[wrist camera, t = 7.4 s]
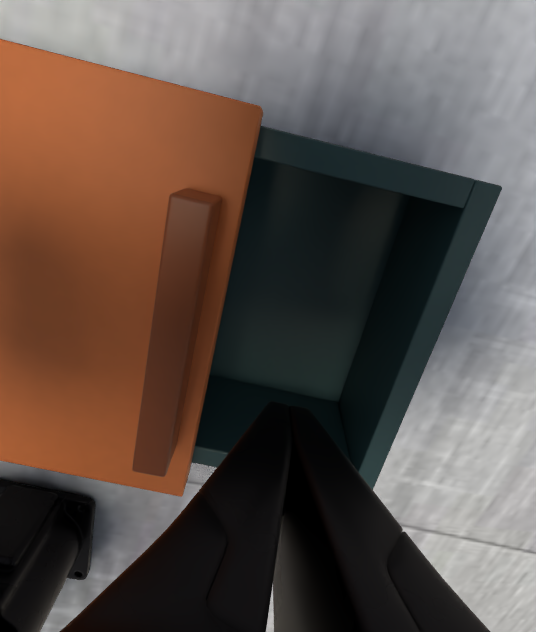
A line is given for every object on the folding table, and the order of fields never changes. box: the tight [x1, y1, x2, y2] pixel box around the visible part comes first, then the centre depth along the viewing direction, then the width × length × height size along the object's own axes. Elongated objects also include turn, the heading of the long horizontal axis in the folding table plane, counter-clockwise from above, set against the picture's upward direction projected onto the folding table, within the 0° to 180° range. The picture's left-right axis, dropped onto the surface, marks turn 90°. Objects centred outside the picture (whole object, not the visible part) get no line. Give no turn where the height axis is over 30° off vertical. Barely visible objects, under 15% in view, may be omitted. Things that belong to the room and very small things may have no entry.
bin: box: [192, 126, 502, 490], centre depth 15 cm, size 19×12×6 cm, turn 77°
